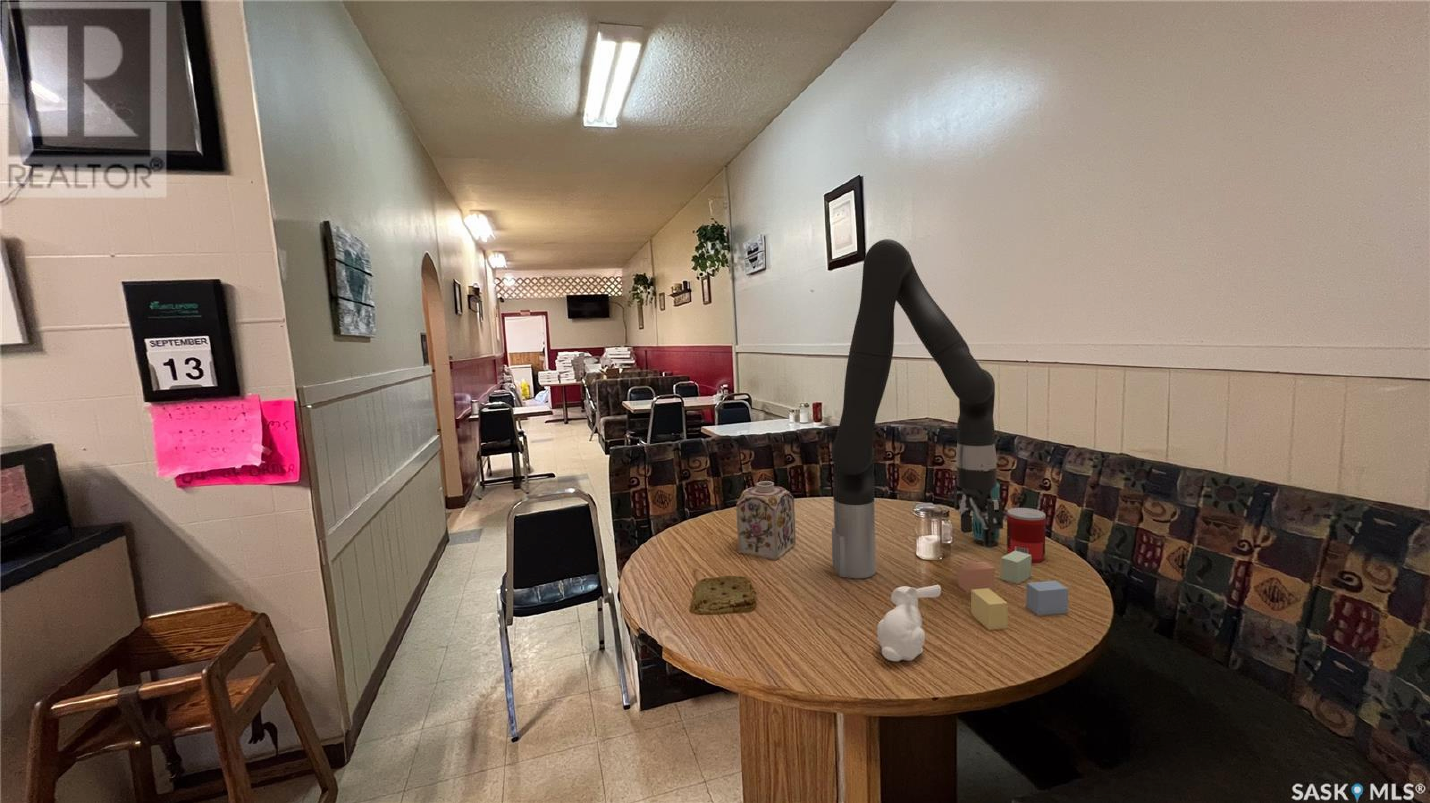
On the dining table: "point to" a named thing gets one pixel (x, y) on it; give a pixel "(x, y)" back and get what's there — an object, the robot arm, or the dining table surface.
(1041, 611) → the slate brick
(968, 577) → the terracotta brick
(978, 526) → the beverage bottle
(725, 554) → the dining table surface
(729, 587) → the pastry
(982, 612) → the ochre brick
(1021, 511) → the canned food
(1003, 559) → the sage brick
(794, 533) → the decorative jar
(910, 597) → the rabbit
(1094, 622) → the dining table surface
